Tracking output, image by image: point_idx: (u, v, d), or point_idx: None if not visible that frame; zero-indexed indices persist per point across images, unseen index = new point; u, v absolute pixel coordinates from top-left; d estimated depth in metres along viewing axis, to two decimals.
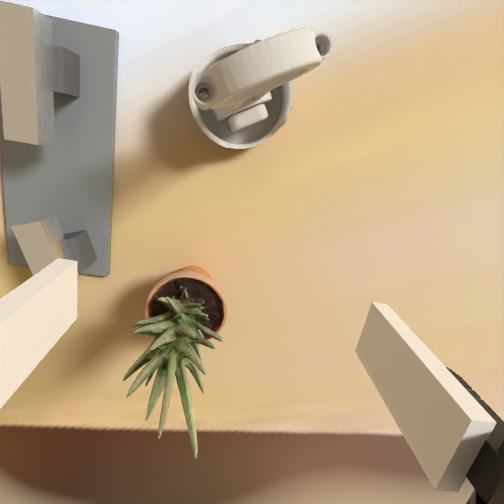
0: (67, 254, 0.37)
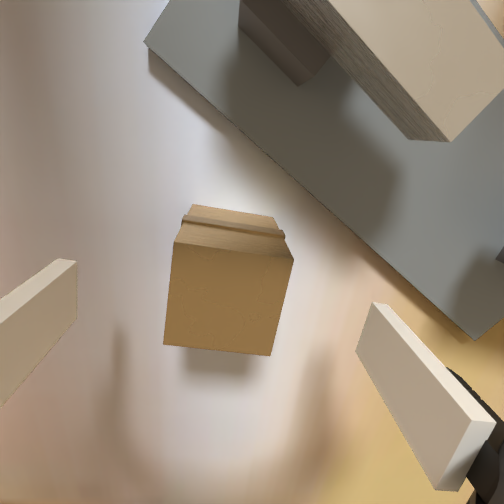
0: None
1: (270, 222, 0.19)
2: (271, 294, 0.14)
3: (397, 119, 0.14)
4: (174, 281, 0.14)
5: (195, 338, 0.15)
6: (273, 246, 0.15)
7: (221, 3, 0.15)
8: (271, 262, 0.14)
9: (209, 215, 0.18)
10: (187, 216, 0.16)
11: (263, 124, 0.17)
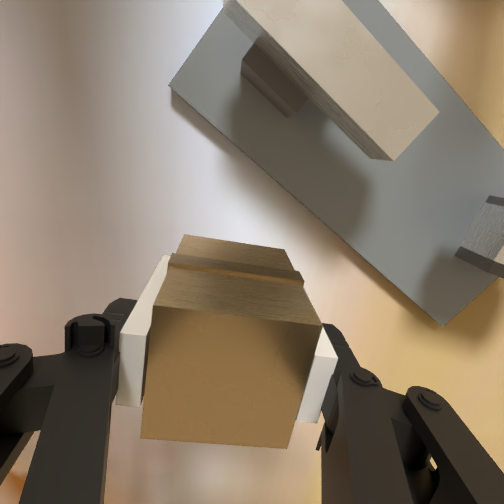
0: None
1: (282, 258, 0.15)
2: (290, 371, 0.10)
3: (359, 144, 0.18)
4: (154, 357, 0.10)
5: (185, 429, 0.11)
6: (291, 302, 0.11)
7: (227, 57, 0.20)
8: (291, 330, 0.10)
9: (205, 251, 0.14)
10: (175, 256, 0.12)
11: (260, 146, 0.22)
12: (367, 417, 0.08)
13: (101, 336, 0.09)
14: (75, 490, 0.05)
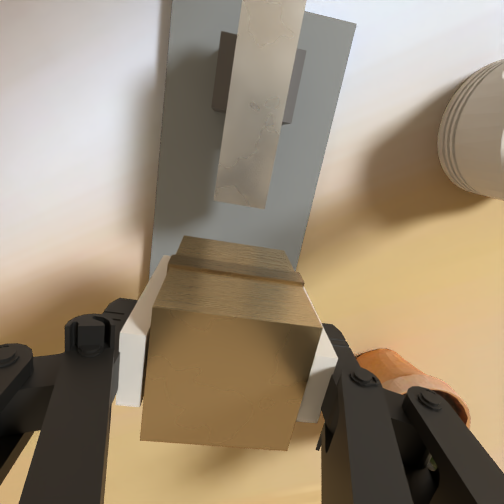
0: None
1: (282, 259, 0.15)
2: (290, 373, 0.10)
3: None
4: (154, 359, 0.10)
5: (184, 431, 0.11)
6: (291, 303, 0.11)
7: (228, 27, 0.21)
8: (291, 332, 0.10)
9: (204, 253, 0.14)
10: (175, 257, 0.12)
11: (179, 101, 0.22)
12: (367, 417, 0.08)
13: (101, 336, 0.09)
14: (75, 490, 0.05)
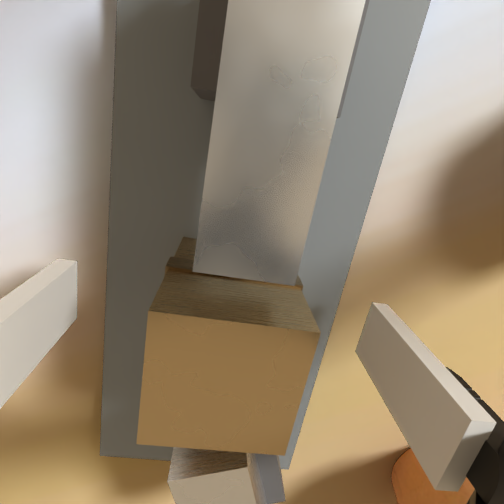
0: (261, 485, 0.16)
1: None
2: (288, 378, 0.10)
3: None
4: (150, 363, 0.10)
5: (181, 435, 0.11)
6: (289, 307, 0.11)
7: None
8: (289, 336, 0.10)
9: None
10: (173, 260, 0.12)
11: (140, 81, 0.13)
12: None
13: None
14: None
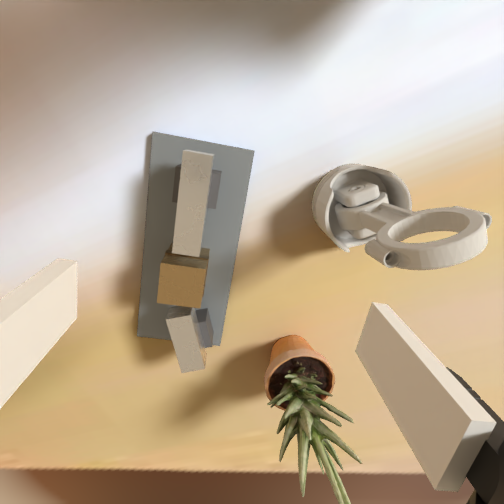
0: (200, 335, 0.42)
1: (206, 252, 0.41)
2: (198, 283, 0.37)
3: None
4: (161, 277, 0.36)
5: (169, 300, 0.37)
6: (200, 264, 0.37)
7: None
8: (197, 270, 0.36)
9: None
10: (167, 250, 0.39)
11: (156, 191, 0.40)
12: None
13: None
14: None
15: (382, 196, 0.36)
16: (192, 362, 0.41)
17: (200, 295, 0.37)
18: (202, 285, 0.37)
